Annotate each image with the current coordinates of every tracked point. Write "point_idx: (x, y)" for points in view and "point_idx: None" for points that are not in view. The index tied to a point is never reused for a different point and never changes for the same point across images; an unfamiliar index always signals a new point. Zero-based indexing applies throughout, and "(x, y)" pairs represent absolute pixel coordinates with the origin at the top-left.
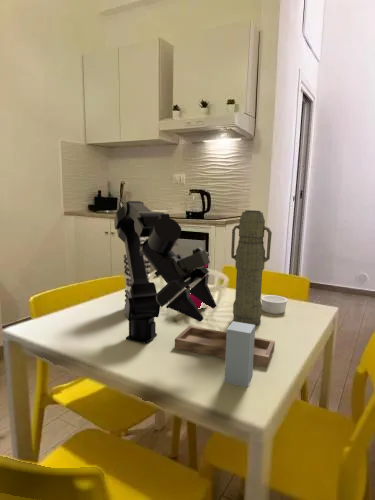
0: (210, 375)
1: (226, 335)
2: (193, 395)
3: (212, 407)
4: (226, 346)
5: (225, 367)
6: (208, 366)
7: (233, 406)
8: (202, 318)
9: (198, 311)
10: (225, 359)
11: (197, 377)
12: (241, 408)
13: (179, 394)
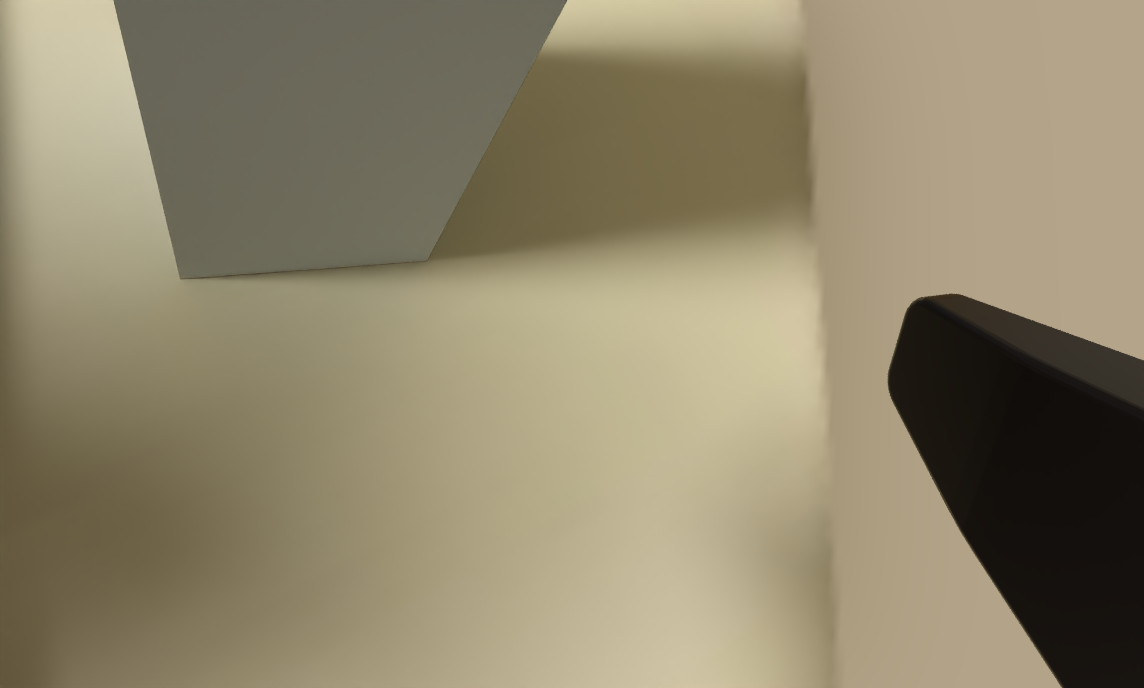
0: (382, 435)
1: (558, 16)
2: (767, 416)
3: (812, 215)
4: (509, 94)
5: (451, 205)
6: (203, 546)
7: (713, 80)
8: (966, 303)
9: (1121, 370)
10: (472, 173)
11: (492, 534)
12: (701, 21)
13: (822, 529)
